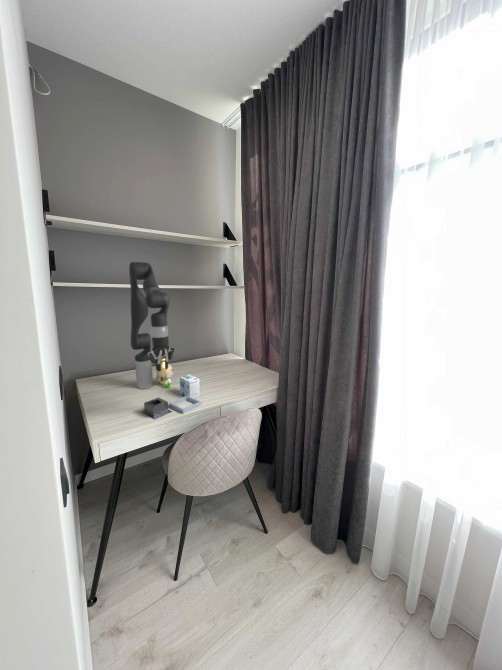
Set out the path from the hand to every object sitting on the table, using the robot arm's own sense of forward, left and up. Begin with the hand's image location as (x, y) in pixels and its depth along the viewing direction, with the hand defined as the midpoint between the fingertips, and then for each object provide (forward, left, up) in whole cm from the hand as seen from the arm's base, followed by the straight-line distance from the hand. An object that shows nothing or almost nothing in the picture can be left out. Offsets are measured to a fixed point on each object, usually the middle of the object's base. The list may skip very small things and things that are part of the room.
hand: (162, 369), depth 131 cm
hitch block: (-2, -4, -22) cm, 23 cm away
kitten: (-31, +21, -22) cm, 44 cm away
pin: (0, 0, -5) cm, 5 cm away
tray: (+4, +9, -22) cm, 25 cm away
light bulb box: (-6, +21, -23) cm, 31 cm away
